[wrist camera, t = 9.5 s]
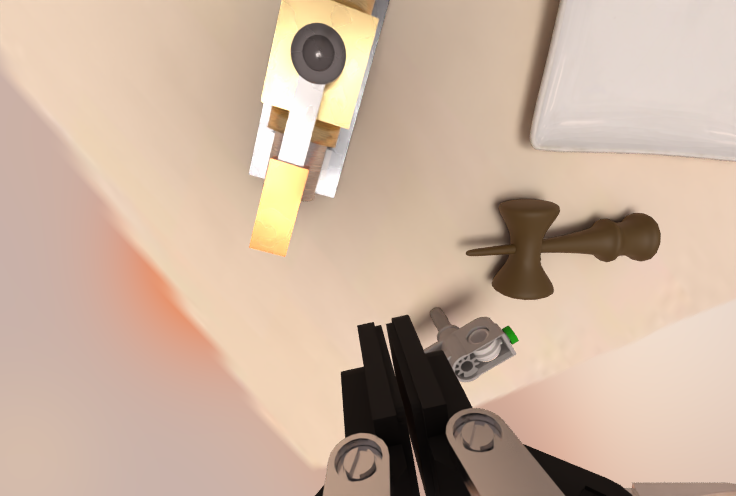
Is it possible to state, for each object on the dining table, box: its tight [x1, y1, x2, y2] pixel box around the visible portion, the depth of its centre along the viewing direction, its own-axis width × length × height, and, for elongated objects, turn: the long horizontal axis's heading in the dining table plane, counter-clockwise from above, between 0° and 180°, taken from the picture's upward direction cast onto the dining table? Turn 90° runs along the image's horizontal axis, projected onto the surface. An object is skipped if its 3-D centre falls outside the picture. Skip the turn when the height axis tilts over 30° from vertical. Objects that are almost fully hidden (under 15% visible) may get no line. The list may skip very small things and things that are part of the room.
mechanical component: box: [424, 308, 519, 382], centre depth 38 cm, size 3×10×10 cm, turn 122°
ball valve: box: [249, 0, 389, 201], centre depth 28 cm, size 20×8×11 cm, turn 163°
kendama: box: [466, 199, 661, 300], centre depth 39 cm, size 6×10×20 cm
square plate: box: [530, 0, 736, 162], centre depth 34 cm, size 27×27×4 cm
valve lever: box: [249, 23, 346, 257], centre depth 24 cm, size 14×3×2 cm, turn 162°
